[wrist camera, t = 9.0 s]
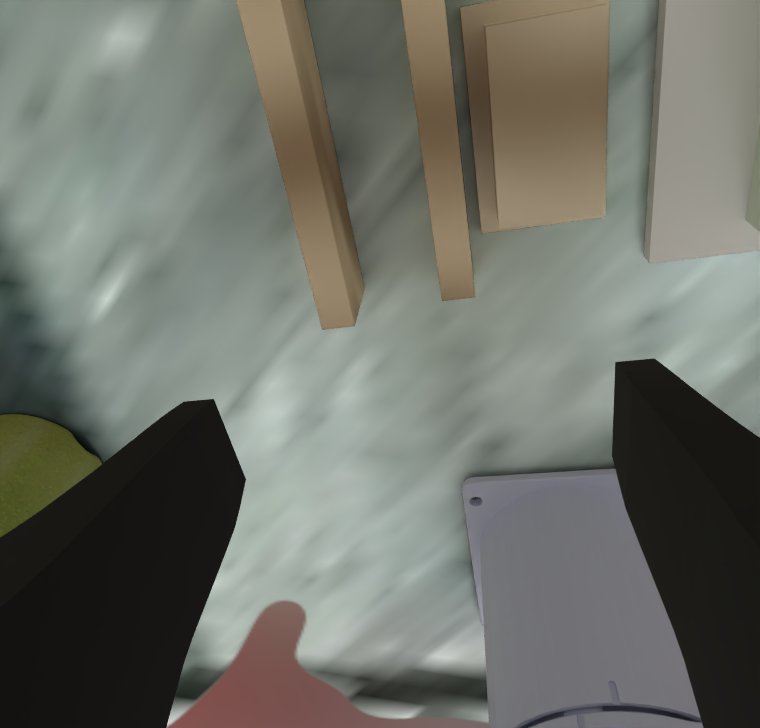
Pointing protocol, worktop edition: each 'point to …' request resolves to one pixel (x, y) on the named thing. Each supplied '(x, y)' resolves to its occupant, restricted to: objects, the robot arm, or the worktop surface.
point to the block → (755, 191)
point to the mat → (703, 129)
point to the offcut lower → (506, 5)
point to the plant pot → (36, 466)
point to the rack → (318, 156)
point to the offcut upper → (548, 114)
